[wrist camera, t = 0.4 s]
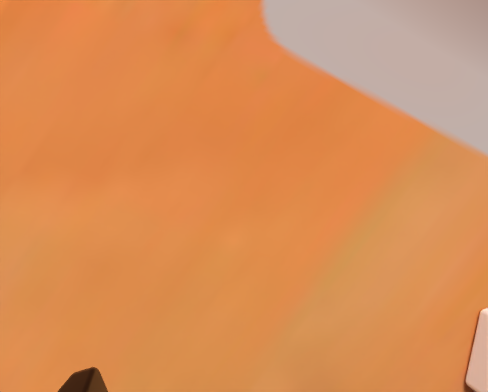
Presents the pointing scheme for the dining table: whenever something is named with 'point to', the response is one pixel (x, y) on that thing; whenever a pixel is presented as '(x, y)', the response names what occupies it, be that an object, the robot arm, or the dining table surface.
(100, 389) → the robot arm
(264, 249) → the dining table surface
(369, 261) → the dining table surface
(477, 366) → the jar
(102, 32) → the dining table surface
